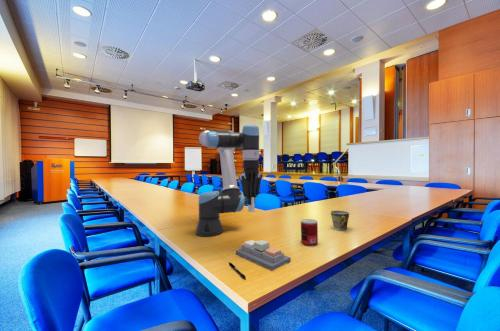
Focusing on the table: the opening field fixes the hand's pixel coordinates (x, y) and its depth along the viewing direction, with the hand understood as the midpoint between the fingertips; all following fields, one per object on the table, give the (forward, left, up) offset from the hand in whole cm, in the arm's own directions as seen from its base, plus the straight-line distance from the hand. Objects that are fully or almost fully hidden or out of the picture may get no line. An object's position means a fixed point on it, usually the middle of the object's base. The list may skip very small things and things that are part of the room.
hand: (251, 211), depth 99 cm
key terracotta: (+15, -3, -15) cm, 22 cm away
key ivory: (+3, -3, -15) cm, 16 cm away
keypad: (+9, -3, -17) cm, 20 cm away
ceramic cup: (+15, +57, -18) cm, 61 cm away
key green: (+9, -3, -14) cm, 17 cm away
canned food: (+14, +25, -18) cm, 34 cm away
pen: (+11, -18, -18) cm, 27 cm away
